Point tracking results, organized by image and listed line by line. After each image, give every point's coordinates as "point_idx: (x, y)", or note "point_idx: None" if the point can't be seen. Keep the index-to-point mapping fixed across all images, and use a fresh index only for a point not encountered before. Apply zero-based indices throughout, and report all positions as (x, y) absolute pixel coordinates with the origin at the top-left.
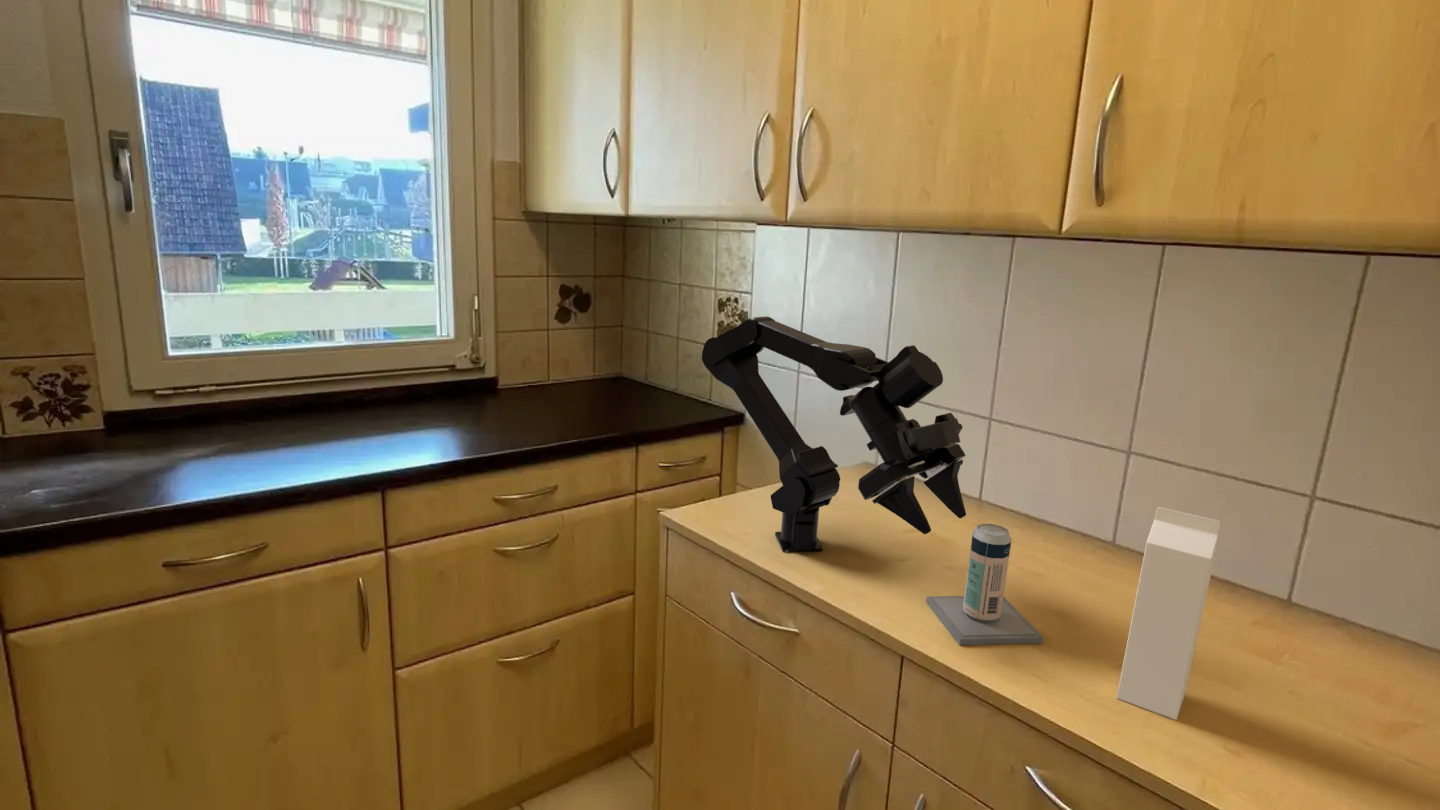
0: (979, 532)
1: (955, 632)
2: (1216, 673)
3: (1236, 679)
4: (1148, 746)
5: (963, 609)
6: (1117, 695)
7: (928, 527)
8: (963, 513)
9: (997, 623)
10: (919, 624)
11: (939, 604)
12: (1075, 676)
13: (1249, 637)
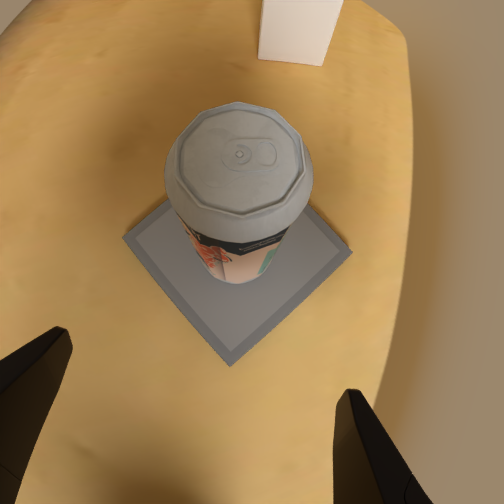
0: (295, 195)
1: (336, 267)
2: (186, 11)
3: (188, 2)
4: (380, 52)
5: (256, 277)
6: (322, 63)
7: (363, 399)
8: (61, 336)
9: None
10: (327, 339)
11: (249, 331)
12: (307, 101)
13: (87, 13)
